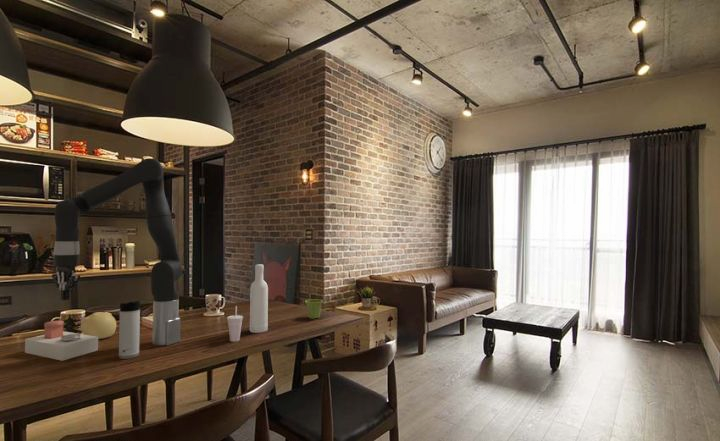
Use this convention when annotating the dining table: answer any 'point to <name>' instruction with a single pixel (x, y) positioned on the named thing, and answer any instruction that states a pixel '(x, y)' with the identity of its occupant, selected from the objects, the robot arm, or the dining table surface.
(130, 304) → the travel mug
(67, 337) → the grey cube
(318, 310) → the plant pot
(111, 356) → the dining table surface
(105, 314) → the pale yellow round lump
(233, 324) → the smoothie
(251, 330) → the bottle
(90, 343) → the socket panel
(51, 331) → the pink gift box
